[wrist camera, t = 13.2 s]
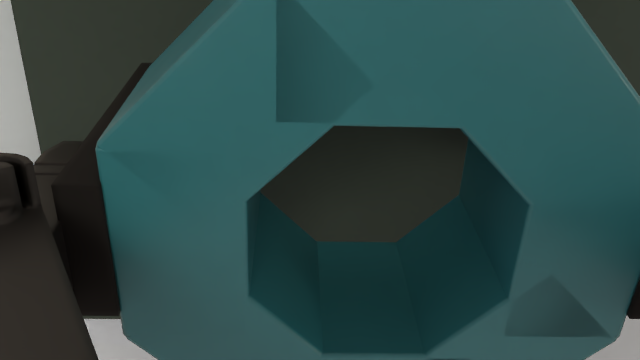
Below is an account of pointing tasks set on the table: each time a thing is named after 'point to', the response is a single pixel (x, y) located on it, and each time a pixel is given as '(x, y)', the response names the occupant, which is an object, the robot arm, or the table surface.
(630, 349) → the table surface
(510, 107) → the ring
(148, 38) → the mat
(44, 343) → the robot arm
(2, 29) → the table surface
